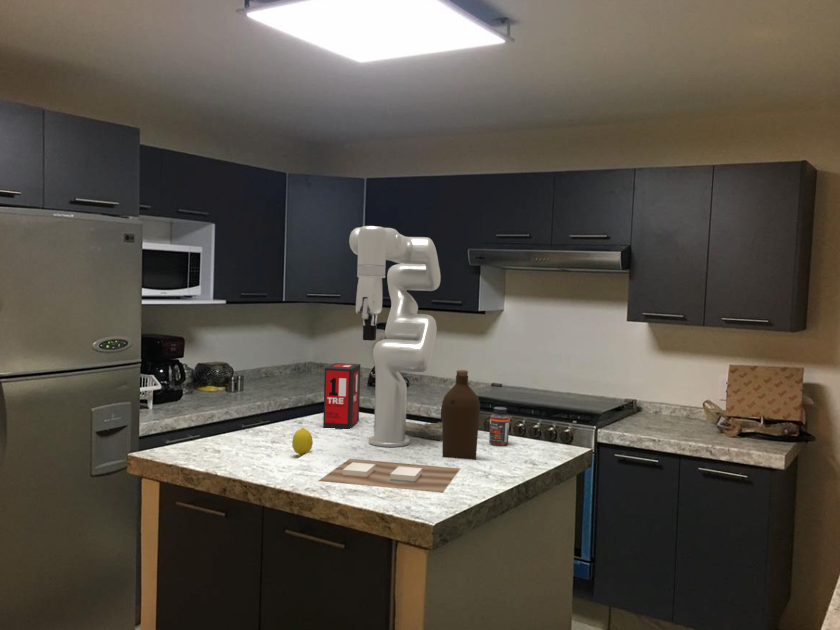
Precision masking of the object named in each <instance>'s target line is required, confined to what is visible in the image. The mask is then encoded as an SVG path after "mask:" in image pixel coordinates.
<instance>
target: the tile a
mask: <svg viewBox="0 0 840 630" xmlns="http://www.w3.org/2000/svg"><path fill="white" fill-rule="evenodd" d="M375 467H376V464H366V463H355V462H352V463H351V464H350V465H348V466H347V467H346V468H344V469H343V476H347V477H358V478H367V477H368V476H370V475H371V474H372V473H373V472H374V471H375Z"/></svg>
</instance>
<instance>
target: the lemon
mask: <svg viewBox="0 0 840 630" xmlns="http://www.w3.org/2000/svg"><path fill="white" fill-rule="evenodd" d="M291 441H292V448H293V450H294V452H295V453H296V454H298V455H299V456H300V457H303V456H304V455H307V454H308V453H310V451H311V450H312V448H313V443H314V442H313V437H312V433H311V432H310V431H309V430H308V429H306V428H304V427H301V428H300V429H297V430H296V431H295V432H294V434H293V437H292V440H291Z"/></svg>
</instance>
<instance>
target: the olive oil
mask: <svg viewBox="0 0 840 630" xmlns="http://www.w3.org/2000/svg"><path fill="white" fill-rule="evenodd" d="M468 374H469V371H468V370H467V369H466V370H464V369H457V370H456V375H455V384H454V385H453V386H452V387H451V389H449V390H448V391H447V392H446V393H445V394H444V397H443V400H442V403H441V419H442V420H441V422H442V438H443V441H442V445H441V446H442V452H441V453H442V454H441V455H442V458H446V459H447V458H448V459H457V460H459V459H460V460H469V461H470V460H473V461H476V460H477V451H478V450H477V449H478V448H477V447H478V434H479V425H480V424H479V422H480V413H481V412H480V411H481V402H480V399H479V396H478V394H476V392H475V391H474V390H473V389H472V387H471V386H470V385H469V375H468Z"/></svg>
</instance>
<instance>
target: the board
mask: <svg viewBox="0 0 840 630" xmlns="http://www.w3.org/2000/svg"><path fill="white" fill-rule="evenodd" d="M352 462H355V463H366V464H376V467H375V471H374V472H373V473H372V474H371V475H370V476H368V477H367V478H358V477H347V476H343V469H344V468H346V467H347V466H348V465H350V464H351V463H352ZM399 466H401V467H412V468H422V475H421V476H420V477H419V478H418V480H417V481H416V482H415V483H412V482H401V481H390V474H391V473H392V472H393V471H394V470H395V469H396V468H397V467H399ZM460 470H461V467H460V468H459V467H450V466H449V467H448V466H437V465H427V464H416V463H415V464H413V463H403V462H391V461H380V460H367V459H359V458H358V459H355V458H348V459H347V460H346V461H344V462H342V463H341V464H340V465H339V466H337V467H335V468H334V469H333V470H331V471H330V472H329V473H327V474H326V475H324V476H323V477H321V478H320V479H319V480H318V482H325V483H326V482H327V483H336V484H338V483H339V484H348V485H357V486H367V487H379V488H388V489H389V488H390V489H398V490H399V489H400V490H409V491H410V490H413V491H422V492H432V493H433V492H434V493H444V492H445V491H446V489H447V488H448V486H449V485H450V484H451V482H452V480H454V479H455V477H456V475H457V474H458V472H460ZM354 491H356V490H354ZM426 498H428V497H426Z"/></svg>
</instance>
